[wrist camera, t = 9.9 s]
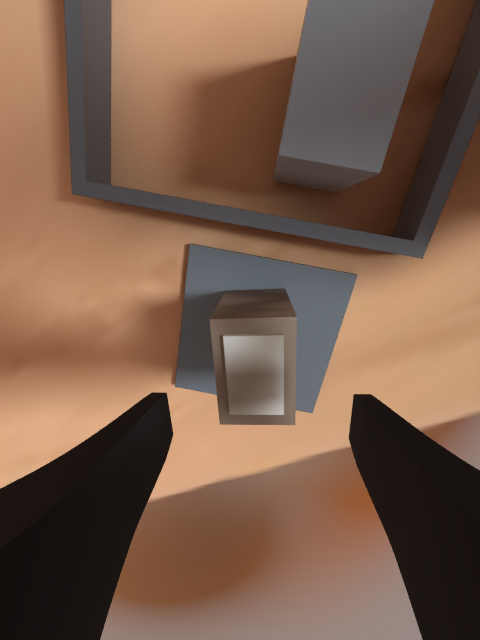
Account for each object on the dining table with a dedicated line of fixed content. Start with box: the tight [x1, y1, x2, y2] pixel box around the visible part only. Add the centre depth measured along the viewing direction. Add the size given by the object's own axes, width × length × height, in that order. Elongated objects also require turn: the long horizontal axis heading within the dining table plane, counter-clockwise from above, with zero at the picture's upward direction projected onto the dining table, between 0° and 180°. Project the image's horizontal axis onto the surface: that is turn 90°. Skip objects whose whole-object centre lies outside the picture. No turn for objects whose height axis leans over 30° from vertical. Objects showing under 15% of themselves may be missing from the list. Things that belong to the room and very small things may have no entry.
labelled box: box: [210, 288, 297, 425], centre depth 16 cm, size 4×6×6 cm, turn 3°
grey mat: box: [175, 244, 357, 413], centre depth 19 cm, size 11×11×1 cm
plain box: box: [273, 0, 434, 193], centre depth 12 cm, size 4×6×6 cm, turn 170°
